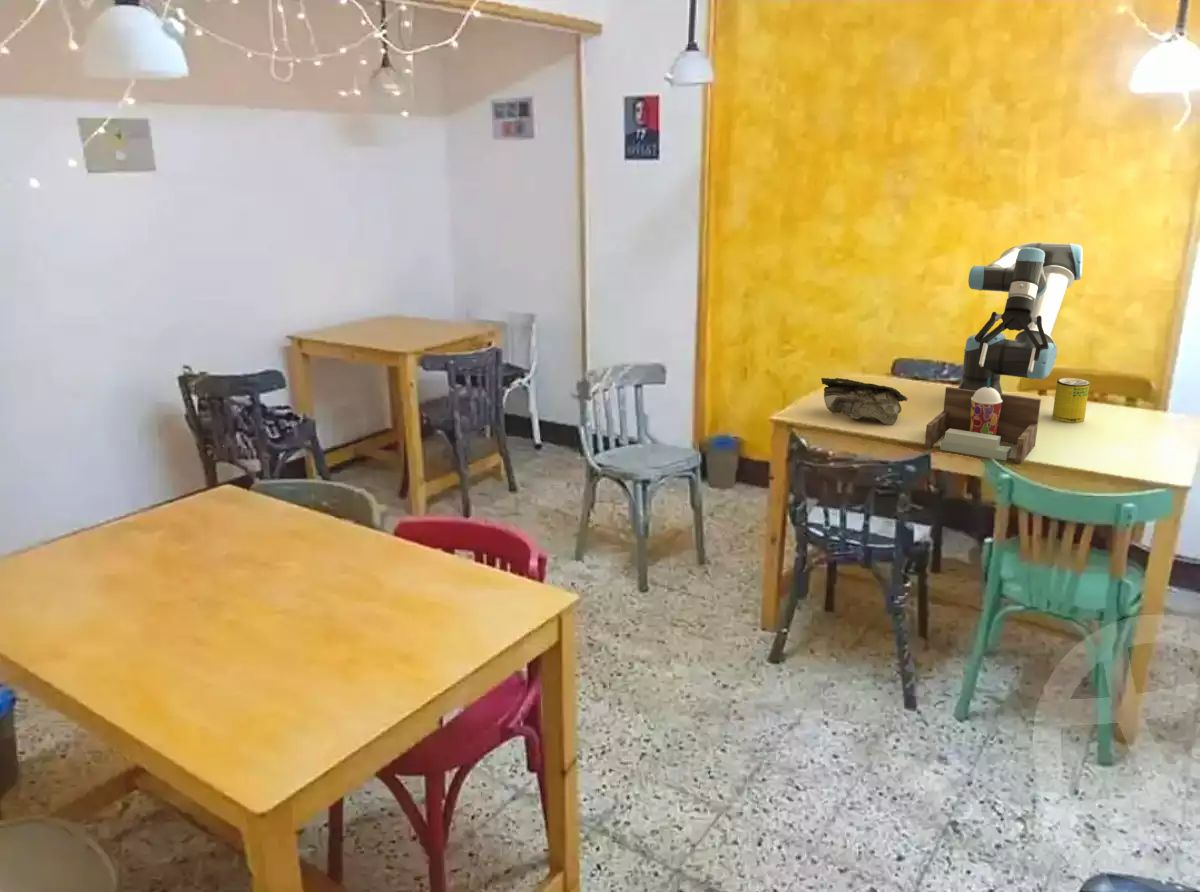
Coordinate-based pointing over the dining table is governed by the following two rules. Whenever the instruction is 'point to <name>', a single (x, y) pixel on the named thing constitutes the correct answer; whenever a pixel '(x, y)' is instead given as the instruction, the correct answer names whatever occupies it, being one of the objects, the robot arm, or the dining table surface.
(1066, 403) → the beverage can
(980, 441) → the offcut stack
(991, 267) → the robot arm
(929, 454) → the dining table surface
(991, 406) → the smoothie
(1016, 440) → the walnut rack
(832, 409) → the hollow geode rock
